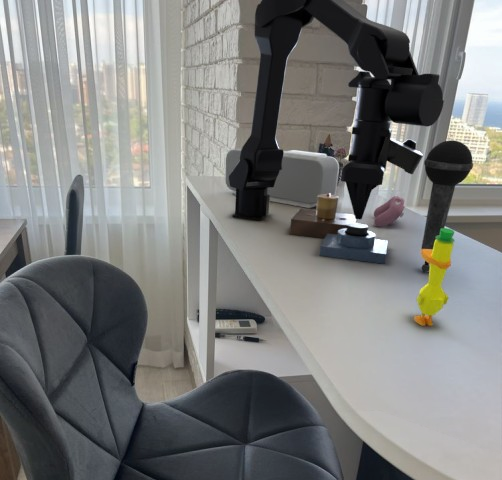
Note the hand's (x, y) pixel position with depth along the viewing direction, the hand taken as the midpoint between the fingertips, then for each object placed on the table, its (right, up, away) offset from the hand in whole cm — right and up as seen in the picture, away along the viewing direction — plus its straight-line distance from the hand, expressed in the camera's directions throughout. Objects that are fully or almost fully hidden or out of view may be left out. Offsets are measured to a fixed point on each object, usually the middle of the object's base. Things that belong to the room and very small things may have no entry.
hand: (358, 218), depth 87 cm
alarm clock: (-11, +15, +42) cm, 46 cm away
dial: (-4, +4, +13) cm, 14 cm away
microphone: (+10, -10, -5) cm, 15 cm away
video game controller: (+11, +4, +24) cm, 27 cm away
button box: (0, -5, +3) cm, 6 cm away
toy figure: (+3, -19, -23) cm, 30 cm away
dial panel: (-4, +1, +15) cm, 15 cm away
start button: (0, -3, +1) cm, 3 cm away
